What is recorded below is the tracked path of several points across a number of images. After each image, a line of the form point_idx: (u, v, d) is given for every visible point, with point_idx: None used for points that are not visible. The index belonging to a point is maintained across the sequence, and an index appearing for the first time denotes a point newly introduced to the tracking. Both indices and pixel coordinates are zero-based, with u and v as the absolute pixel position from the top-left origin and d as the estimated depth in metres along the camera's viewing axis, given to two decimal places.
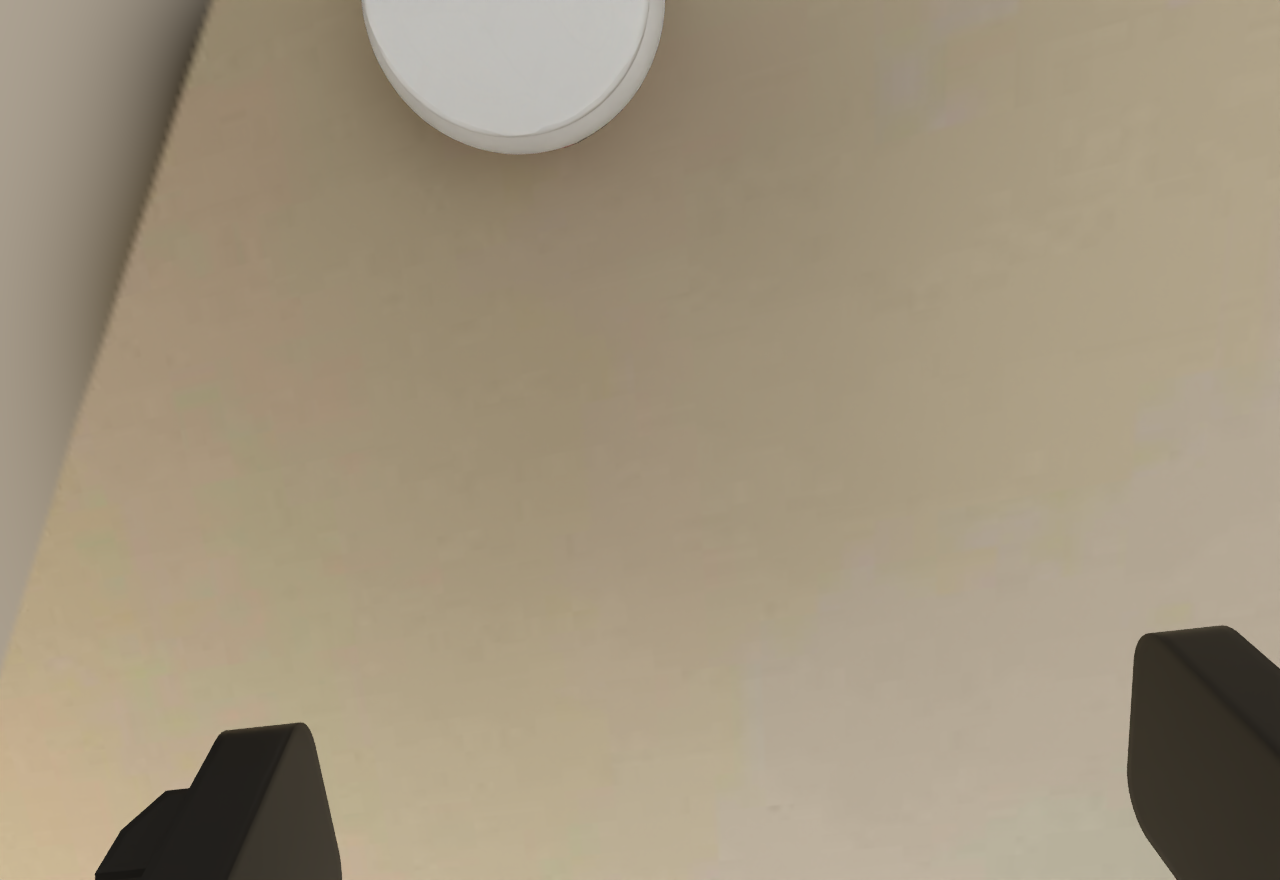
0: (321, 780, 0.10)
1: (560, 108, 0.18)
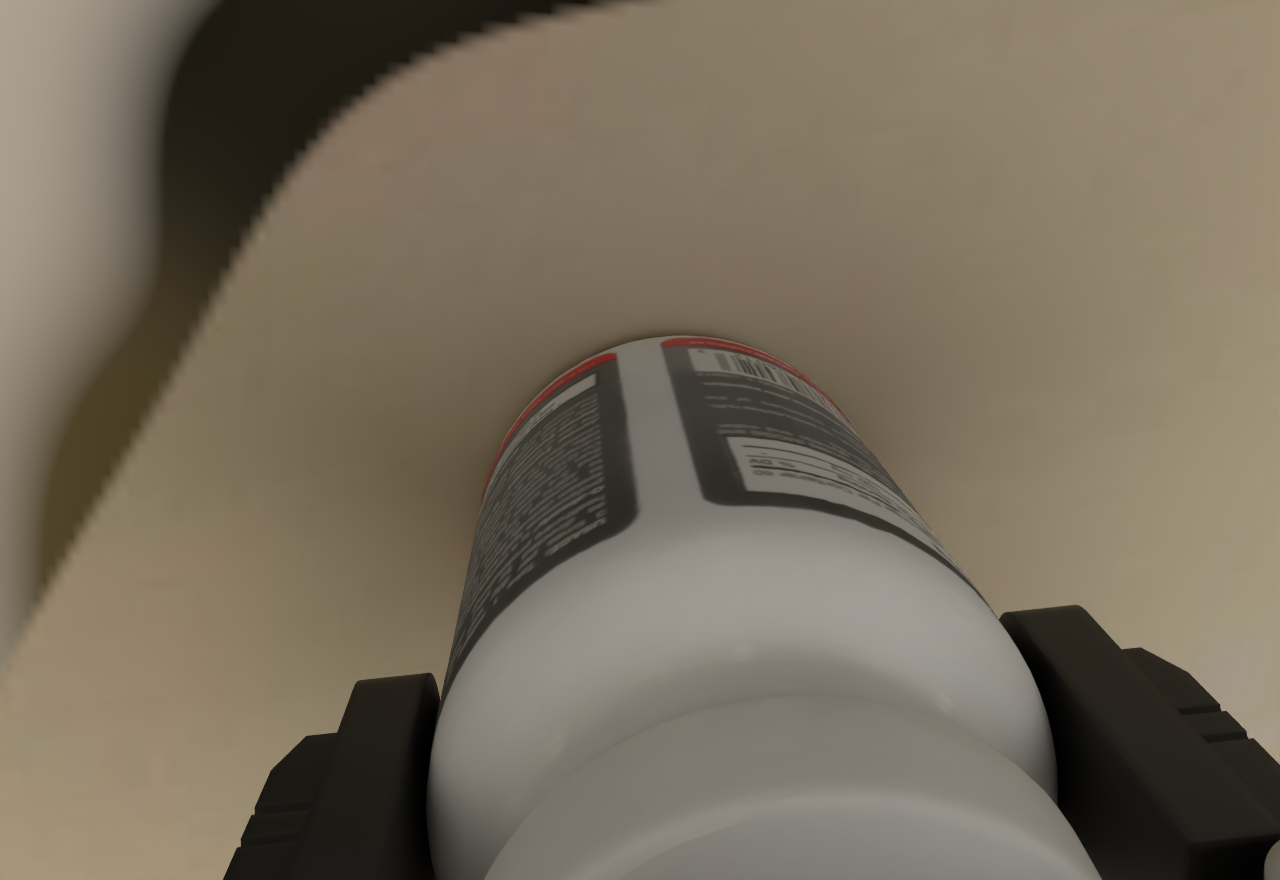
0: None
1: None
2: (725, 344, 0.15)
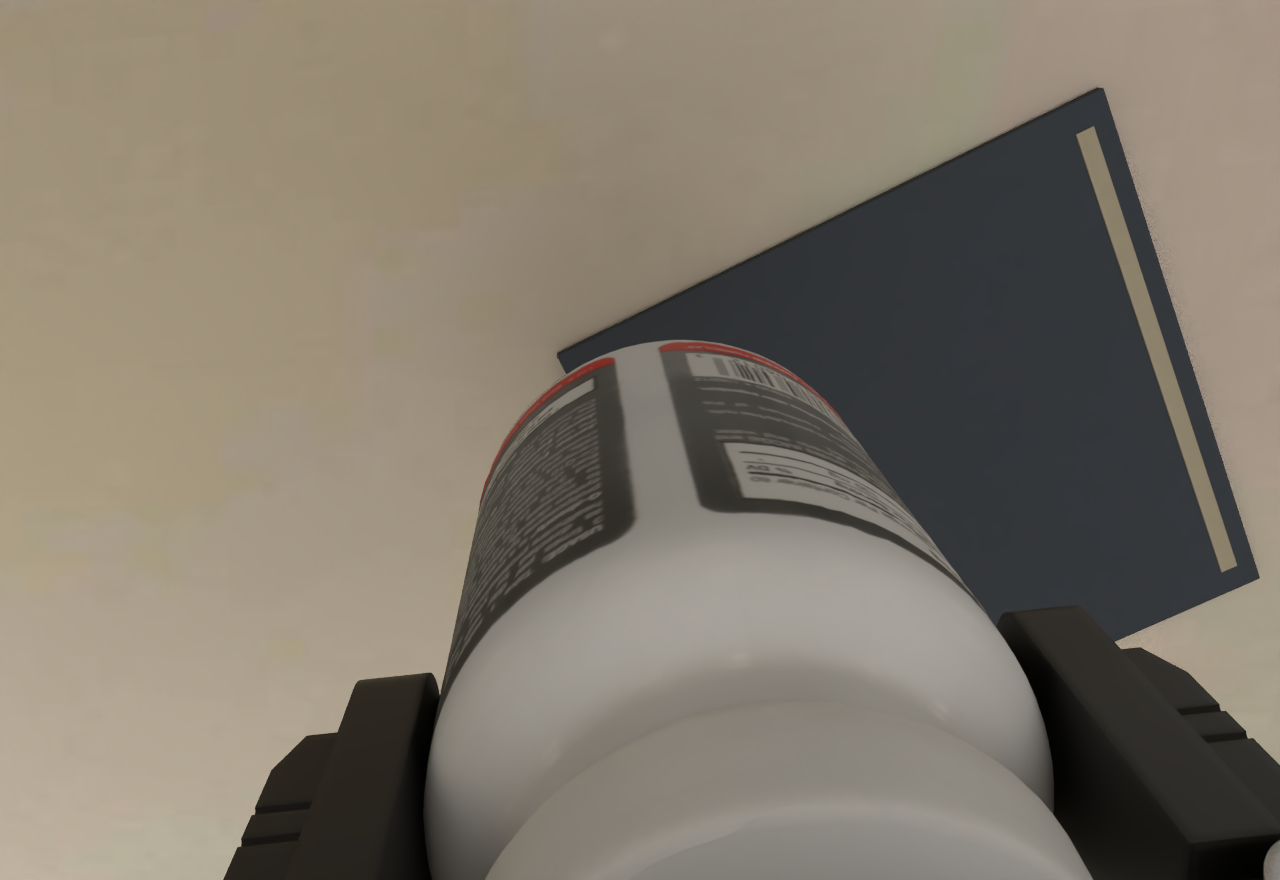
0: None
1: None
2: (723, 348, 0.15)
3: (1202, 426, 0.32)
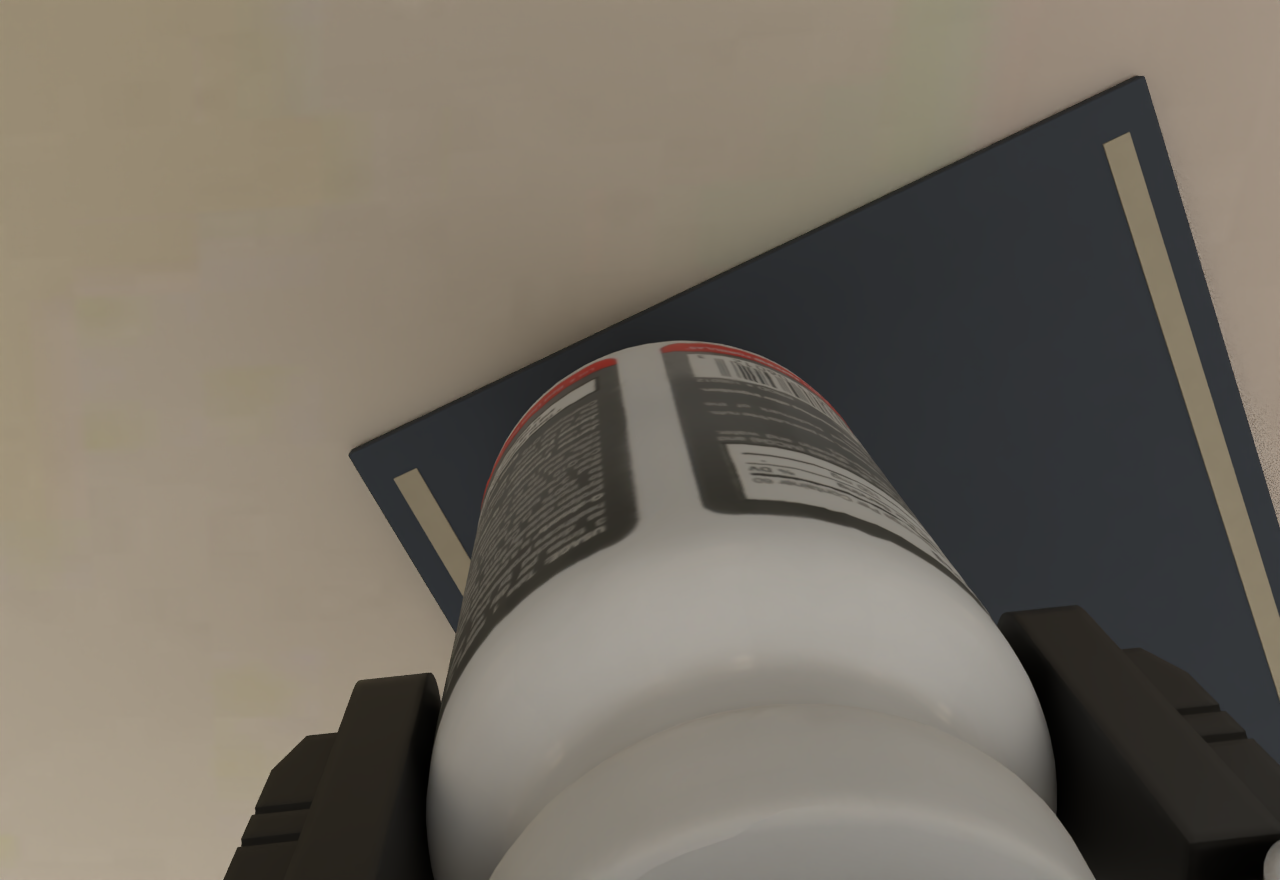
0: None
1: None
2: (725, 349, 0.15)
3: (1277, 559, 0.23)
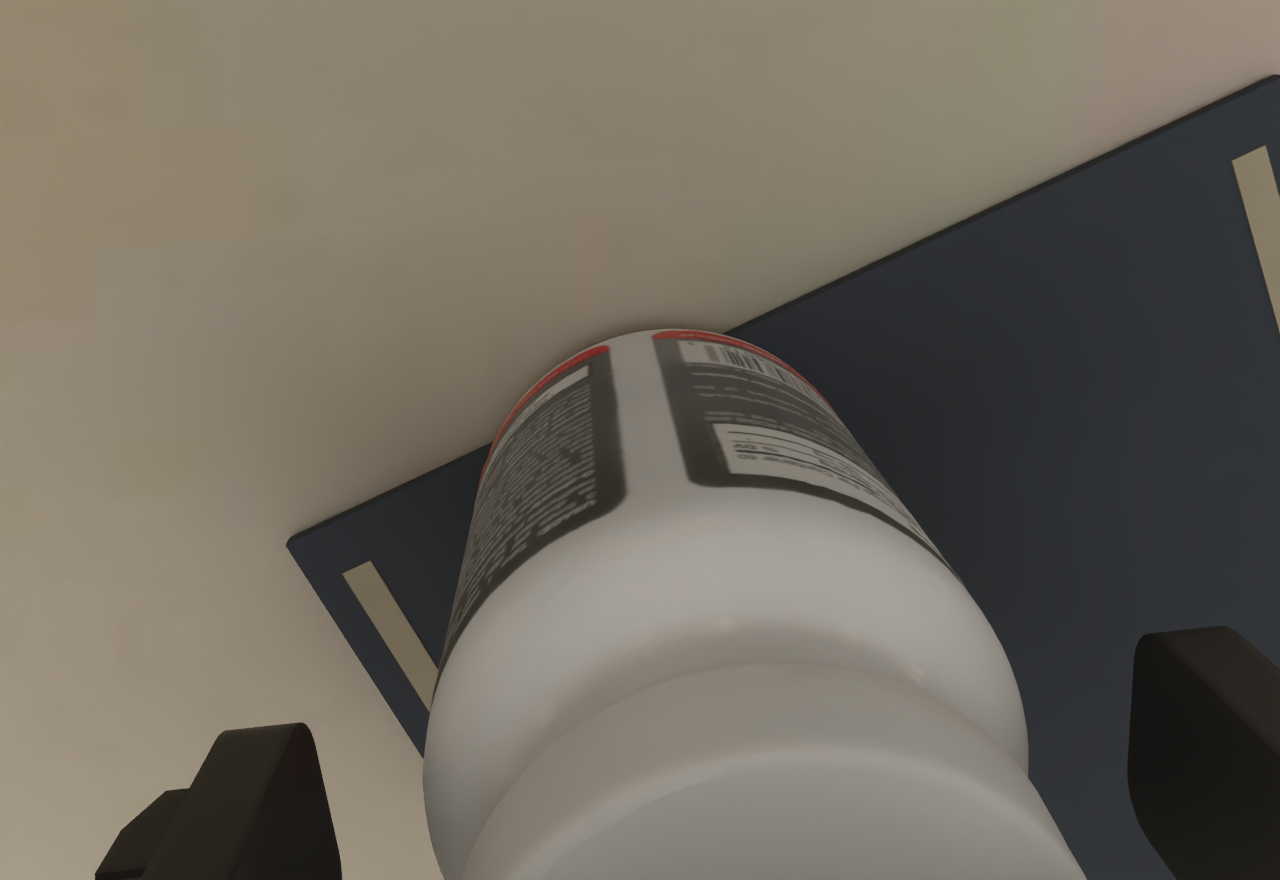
0: (321, 780, 0.10)
1: None
2: (714, 337, 0.15)
3: None
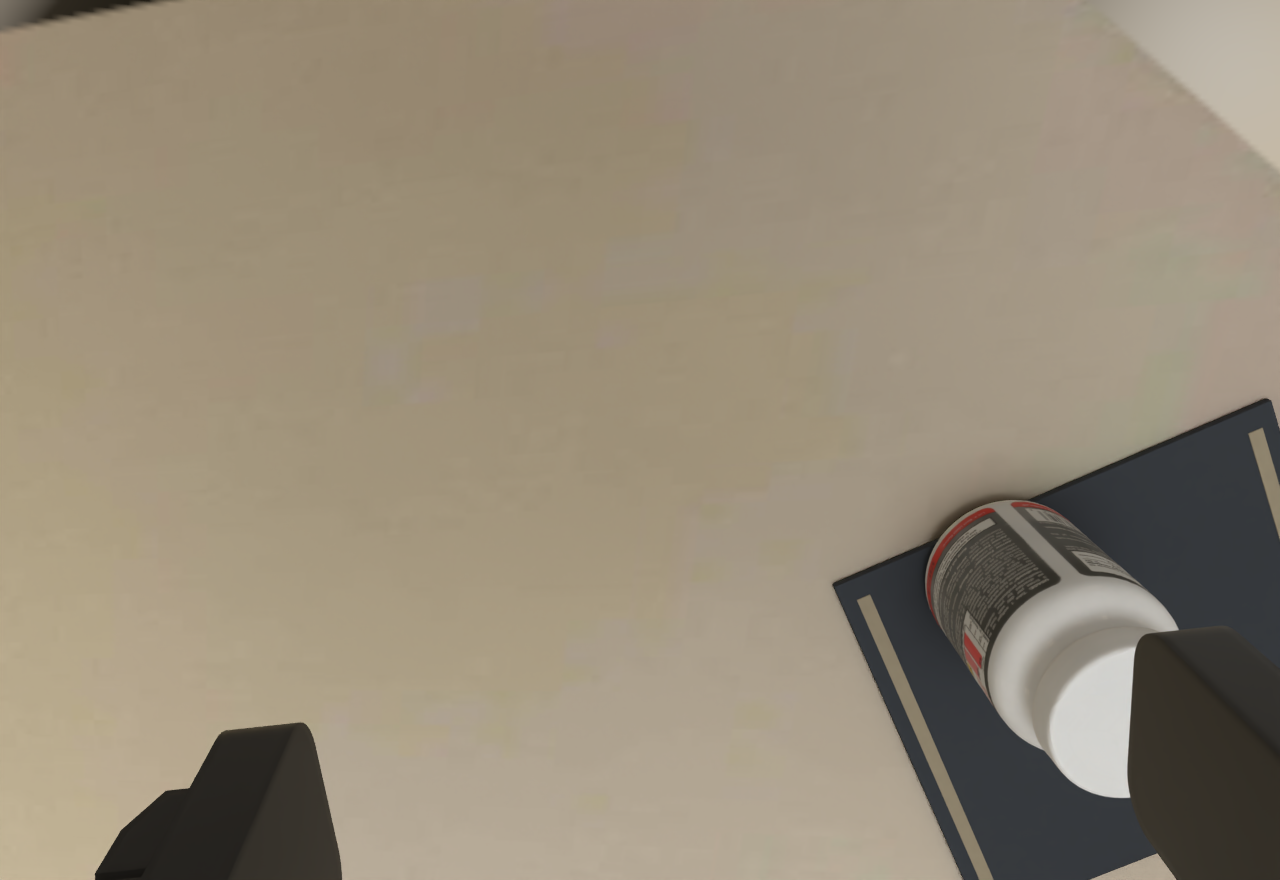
0: (321, 780, 0.10)
1: None
2: (1036, 505, 0.37)
3: None
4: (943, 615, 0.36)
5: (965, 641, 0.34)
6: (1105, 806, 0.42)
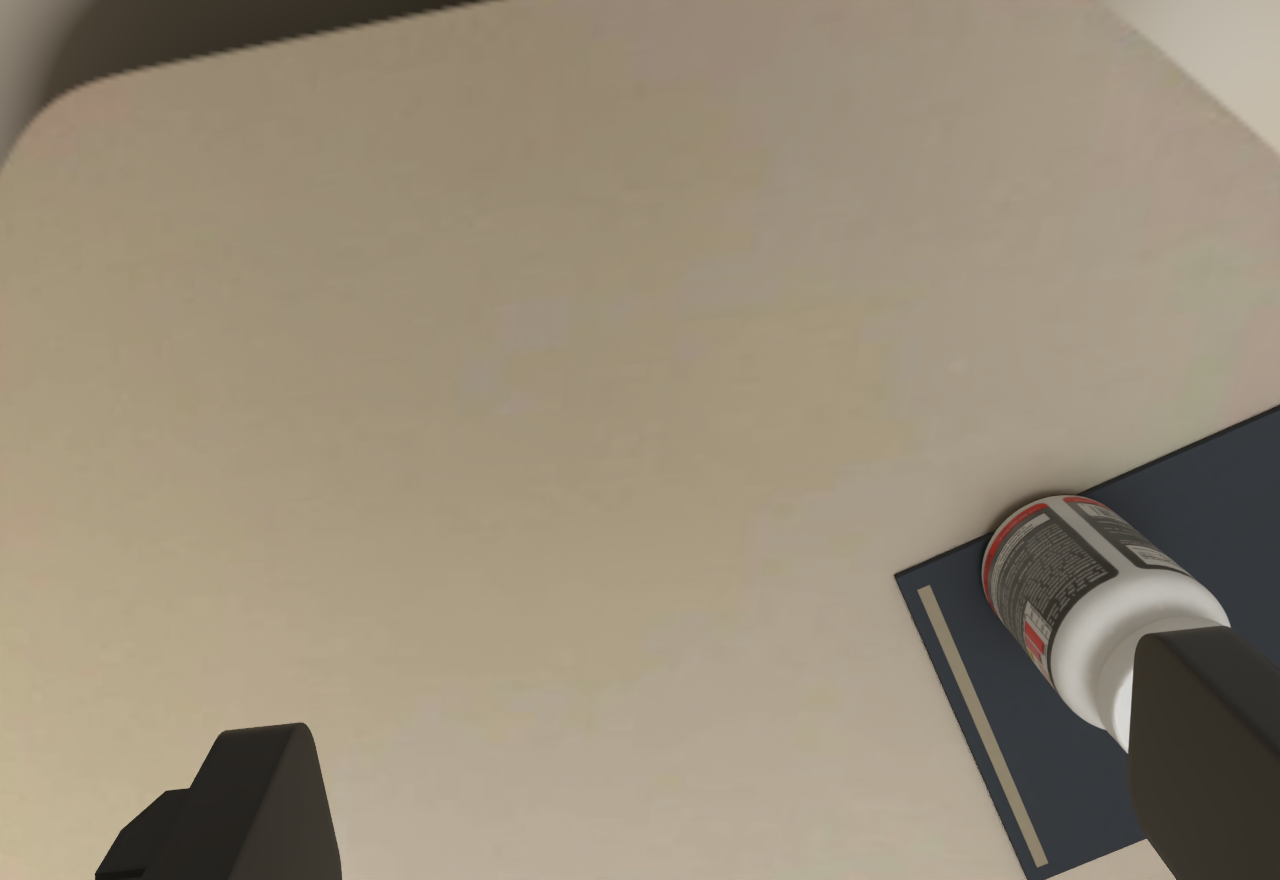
0: (321, 780, 0.10)
1: None
2: (1086, 500, 0.40)
3: None
4: (1002, 604, 0.39)
5: (1026, 628, 0.37)
6: None
